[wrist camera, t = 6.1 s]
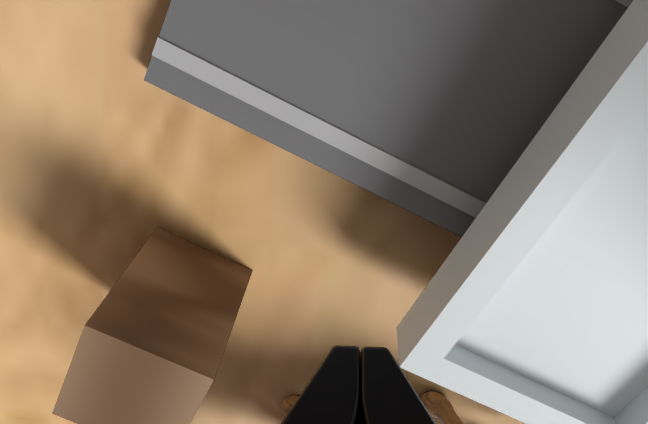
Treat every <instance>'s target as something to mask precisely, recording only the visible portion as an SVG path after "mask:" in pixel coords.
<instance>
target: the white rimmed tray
mask: <svg viewBox="0 0 648 424" xmlns="http://www.w3.org/2000/svg"><path fill="white" fill-rule="evenodd" d="M397 340H398V354H399V367H400V368H402V369H404V370H407V371H409V372H411V373H413V374H416V375H418V376H420V377H422V378H425V379H427V380H429V381H431V382H434V383H436V384H438V385H440V386H443V387H445V388H447V389H449V390H452V391H454V392H456V393H458V394H461V395H463V396H465V397H467V398H469V399H472V400H474V401H476V402H478V403H481V404H483V405H485V406H487V407H490V408H492V409H494V410H496V411H499V412H501V413H503V414H505V415H508V416H510V417H512V418H514V419H517V420H519V421H521V422H523V423H526V424H648V0H633V2H632V3H631V4H630V6H629V7H628V9H627V10H626V11H625V13H624V14H623V15H622V17H621V18H620V20H619V21H618V22H617V24H616V25H615V26H614V28H613V29H612V31H611V32H610V33H609V35H608V36H607V38H606V39H605V40H604V42H603V43H602V44H601V46H600V47H599V49H598V50H597V51H596V53H595V54H594V55H593V57H592V58H591V60H590V61H589V62H588V64H587V65H586V67H585V68H584V69H583V71H582V72H581V73H580V75H579V76H578V78H577V79H576V80H575V82H574V83H573V84H572V86H571V87H570V89H569V90H568V91H567V93H566V94H565V96H564V97H563V98H562V100H561V101H560V102H559V104H558V105H557V107H556V108H555V109H554V111H553V112H552V113H551V115H550V116H549V118H548V119H547V120H546V122H545V123H544V125H543V126H542V127H541V129H540V130H539V131H538V133H537V134H536V136H535V137H534V138H533V140H532V141H531V142H530V144H529V145H528V147H527V148H526V149H525V151H524V152H523V154H522V155H521V156H520V158H519V159H518V160H517V162H516V163H515V165H514V166H513V167H512V169H511V170H510V171H509V173H508V174H507V176H506V177H505V178H504V180H503V181H502V183H501V184H500V185H499V187H498V188H497V189H496V191H495V192H494V194H493V195H492V196H491V198H490V199H489V200H488V202H487V203H486V205H485V206H484V207H483V209H482V210H481V212H480V213H479V214H478V216H477V217H476V218H475V220H474V221H473V223H472V224H471V225H470V227H469V228H468V229H467V231H466V232H465V234H464V235H463V236H462V238H461V239H460V241H459V242H458V243H457V245H456V246H455V247H454V249H453V250H452V252H451V253H450V254H449V256H448V257H447V259H446V260H445V261H444V263H443V264H442V265H441V267H440V268H439V270H438V271H437V272H436V274H435V275H434V276H433V278H432V279H431V281H430V282H429V283H428V285H427V286H426V288H425V289H424V290H423V292H422V293H421V294H420V296H419V297H418V299H417V300H416V301H415V303H414V304H413V305H412V307H411V308H410V310H409V311H408V312H407V314H406V315H405V317H404V318H403V319H402V321H401V322H400V323H399V325H398V326H397Z"/></svg>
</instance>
